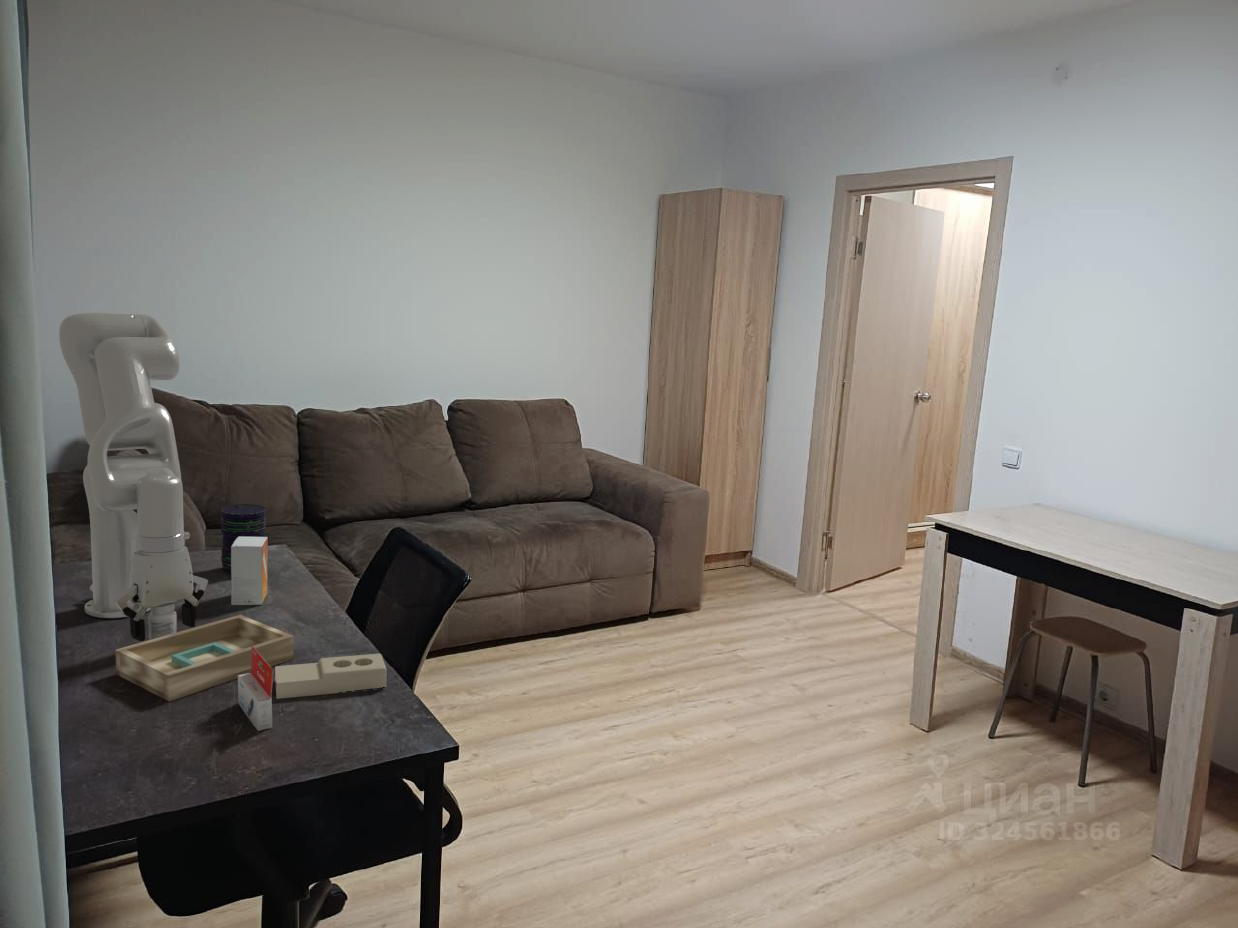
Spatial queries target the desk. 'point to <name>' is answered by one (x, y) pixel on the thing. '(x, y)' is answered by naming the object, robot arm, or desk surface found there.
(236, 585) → the small box
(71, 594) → the desk surface
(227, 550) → the storage jar
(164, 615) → the pill bottle
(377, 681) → the beige stepped holder block
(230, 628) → the walled box
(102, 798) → the desk surface
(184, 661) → the collar
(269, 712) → the ink cartridge box
